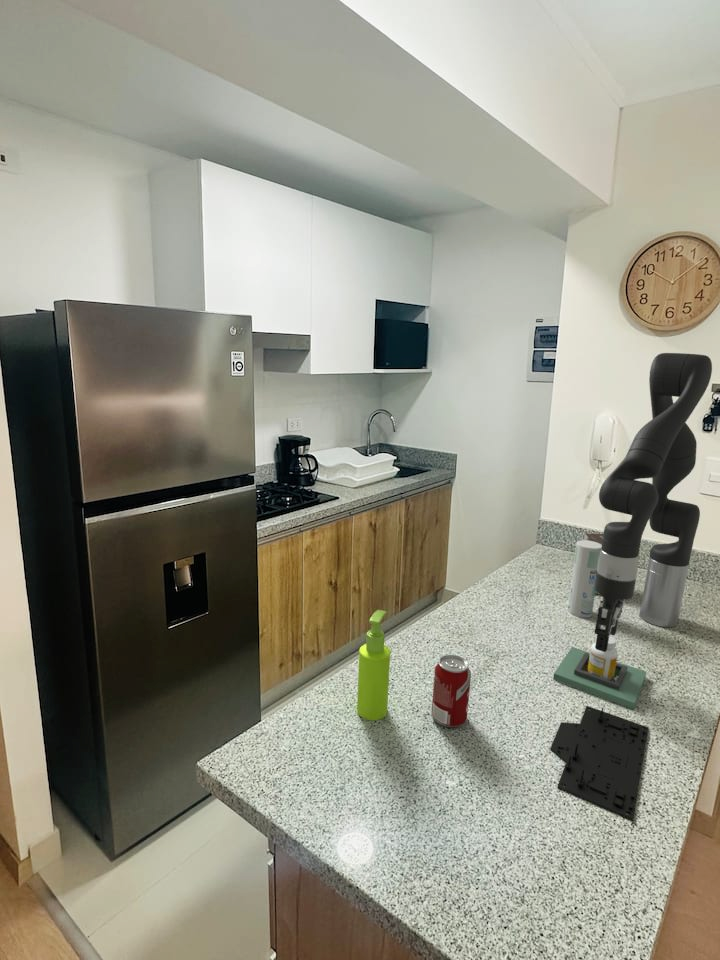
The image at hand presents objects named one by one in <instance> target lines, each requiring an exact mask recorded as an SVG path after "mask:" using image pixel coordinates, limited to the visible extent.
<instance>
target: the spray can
mask: <svg viewBox="0 0 720 960" xmlns="http://www.w3.org/2000/svg"><path fill="white" fill-rule="evenodd" d="M601 547H602V545H601V544H599V543H597V542H594V541H588V540H584V539H581V540H578V541H576V542H575V551H574V557H573V558H574V559H573V565H572V576H571V582H570V591H569V595H568V596H569V598H568V605H567V611H568V612H569V614H571V615H572V616H575V617H579V618H582V619H583V618H584V619H585V618H586V619H587V618H590V617H591V616H592V614H593V609H594V603H595V599H596V598H595V596H596V594H595V591H596V590H595V588H594V586H595V579H596V572H597V565H598V559H599V555H600V552H601Z"/></svg>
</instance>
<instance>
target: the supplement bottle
mask: <svg viewBox="0 0 720 960" xmlns="http://www.w3.org/2000/svg"><path fill="white" fill-rule="evenodd" d="M596 639H597V635H596V637H595V641H594V643H593V644H592V645H591V646H590V650H589V653H590V657H589V663H588V666H587V669H586V672H588V673H591V674H594V675H597V676H600V677H602V678H605V679H608V680H611V681H615V680H614V679H615V675H614V674H615V668H616V662H618V650H617V648H616V646H617V645H616V644H617V640H616V638H614V637H613V636H612V635H610V636H609V641H608V647H607V651H606V652H603V651H600V650H597V649H596V648H595V646H596Z"/></svg>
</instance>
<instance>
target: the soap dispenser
mask: <svg viewBox="0 0 720 960" xmlns="http://www.w3.org/2000/svg"><path fill="white" fill-rule="evenodd" d="M387 613H388V611H387V610H381V609H377V610H375V611H374V613H373V614H372V616H371V617H370V618H369V622H368V623H369V624H371V628H370V629H369V630H368V631H367V632H366V638H365V639H366V643H364V644H362V645H361V646H360V648H359V650H358V652H359V653H358V672H357V673H358V675H357V679H358V680H357V700H356V703H357V704H356V712H357V714H358V716H359V717H361V718H362V719H364V720H367V721H379V720H382V719H384V718H385V717H386V715H388V714H387V713H388V701H389V698H388V697H389V681H390V665H391V664H390V662H391V649H390V648H389V647H388V645H386V644H385V632H384V631H382V630H381V625H382V624H381V622H382V620H383V619H384V617H385V616H386V615H387Z"/></svg>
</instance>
